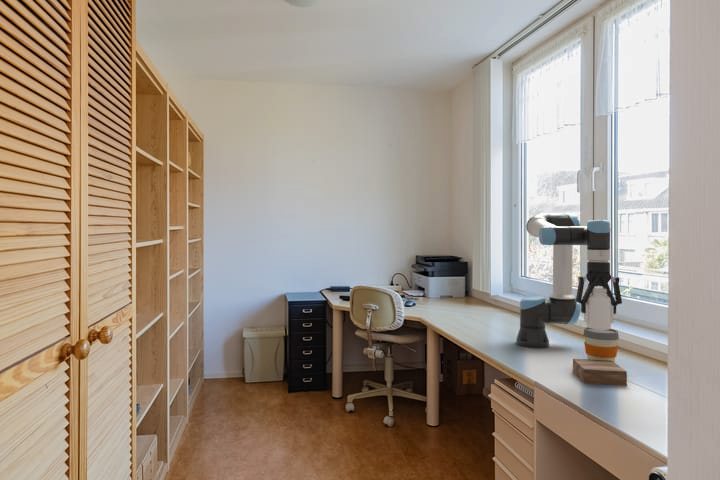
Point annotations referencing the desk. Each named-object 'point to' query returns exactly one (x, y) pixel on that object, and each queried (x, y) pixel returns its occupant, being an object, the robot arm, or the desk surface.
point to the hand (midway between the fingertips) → (598, 322)
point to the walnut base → (599, 372)
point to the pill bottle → (599, 310)
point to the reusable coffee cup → (601, 344)
